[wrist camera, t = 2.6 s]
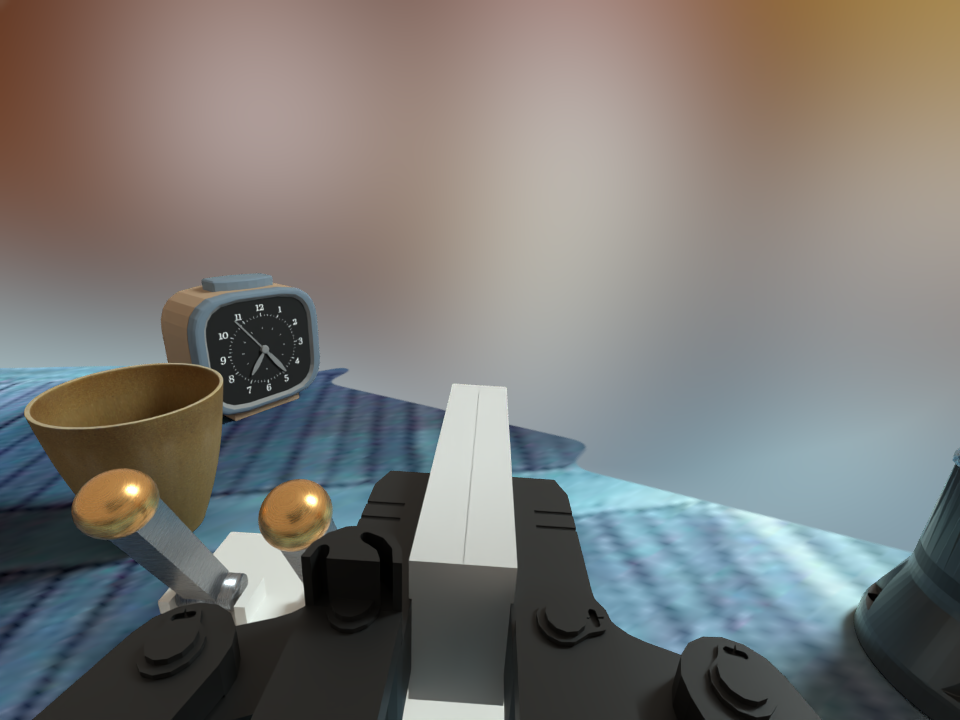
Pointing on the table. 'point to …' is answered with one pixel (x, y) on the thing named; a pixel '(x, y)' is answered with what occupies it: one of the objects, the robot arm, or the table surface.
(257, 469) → the table surface
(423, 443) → the table surface
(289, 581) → the switch box
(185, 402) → the plant pot
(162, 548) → the lever
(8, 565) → the table surface
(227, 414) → the alarm clock
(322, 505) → the lever middle
